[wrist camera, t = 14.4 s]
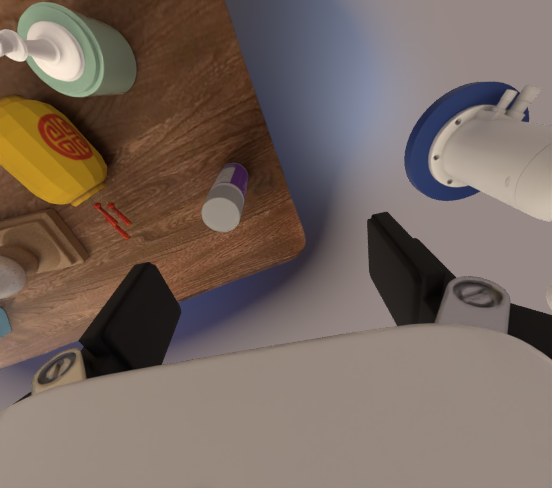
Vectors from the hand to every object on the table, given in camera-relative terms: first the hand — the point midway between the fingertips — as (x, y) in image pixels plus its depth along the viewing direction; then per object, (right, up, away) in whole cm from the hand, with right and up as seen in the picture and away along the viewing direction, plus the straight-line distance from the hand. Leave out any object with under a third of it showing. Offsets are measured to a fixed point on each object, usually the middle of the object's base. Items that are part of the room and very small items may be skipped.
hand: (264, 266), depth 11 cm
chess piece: (-22, +21, +15) cm, 34 cm away
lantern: (-31, +16, +28) cm, 45 cm away
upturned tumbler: (-22, +25, +23) cm, 41 cm away
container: (-6, +12, +31) cm, 34 cm away
